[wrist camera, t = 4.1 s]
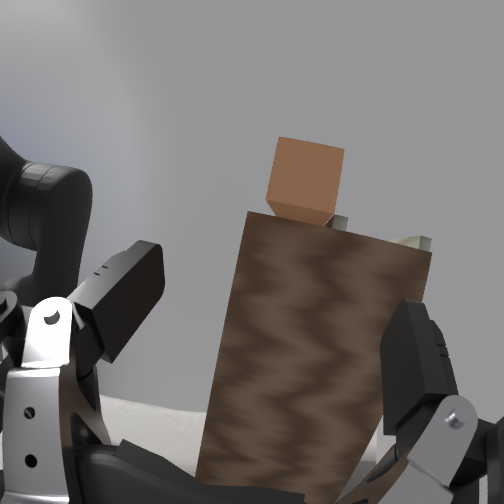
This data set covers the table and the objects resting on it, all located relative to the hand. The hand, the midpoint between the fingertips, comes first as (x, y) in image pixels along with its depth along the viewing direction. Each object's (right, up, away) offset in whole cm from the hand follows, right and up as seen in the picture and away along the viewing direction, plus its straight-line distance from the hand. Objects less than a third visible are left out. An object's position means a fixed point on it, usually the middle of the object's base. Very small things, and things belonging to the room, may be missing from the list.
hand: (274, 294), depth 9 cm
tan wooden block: (+4, +4, +19) cm, 20 cm away
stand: (+1, -28, +21) cm, 35 cm away
